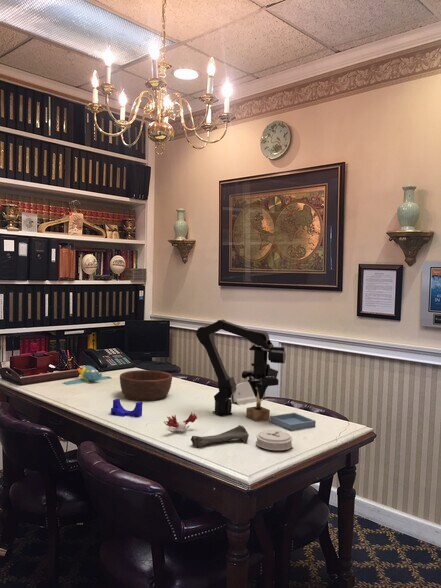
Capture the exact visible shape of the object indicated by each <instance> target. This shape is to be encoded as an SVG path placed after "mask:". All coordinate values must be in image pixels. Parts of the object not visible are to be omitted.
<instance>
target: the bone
mask: <svg viewBox="0 0 441 588" xmlns="http://www.w3.org/2000/svg"><path fill="white" fill-rule="evenodd" d="M237 439H238V440H241V441H242V442H243V444H246V443H247V442H248V440H249V433H248V431H247V429H246V428H245V426H243V425H240V424H238V426H235V427H234V428H231V429H229V430H227V431H225V432H221V433H219V434H215V435H208V436H207V435H206V436H198V435H192V436H191V438H190V441H191V443H192V446H193V447H199V448H201V447H203V446H205V445H207V444H210V443H211V444H212V443H219V442H220V443H221V442H229V441H233V440H237Z"/></svg>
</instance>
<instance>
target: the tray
mask: <svg viewBox="0 0 441 588" xmlns="http://www.w3.org/2000/svg"><path fill="white" fill-rule="evenodd" d="M269 423H271V424H274V425H276V426H277V427H278V426H279V428H282V429H285V430H286V431H289V432H294V431H295V432H296V431H300V430H306V429H312V428H316V423H317V422H316V420H315V419H311V418H310V417H307V416H305V415H302V414H299V413H297V412H288V413H282V414H274V415H270V418H269Z"/></svg>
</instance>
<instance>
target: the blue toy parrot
mask: <svg viewBox="0 0 441 588" xmlns="http://www.w3.org/2000/svg"><path fill="white" fill-rule="evenodd" d="M77 372H78V373H79V375H80V376H81V378H78V379H73V380H68V381H64V382H61V384H63V385H66V386H70V385H76V384H85V383H90V382H99V381H103V380H109V379H111V380H112V379H113V378H112V377H111V376H108V375H107V376H103V373H102V372H99V371H98V370H97V369H96V368H95V367H94V366H91V365H86V366H83V368H82V369H81V368H80V367H78V368H77Z"/></svg>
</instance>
